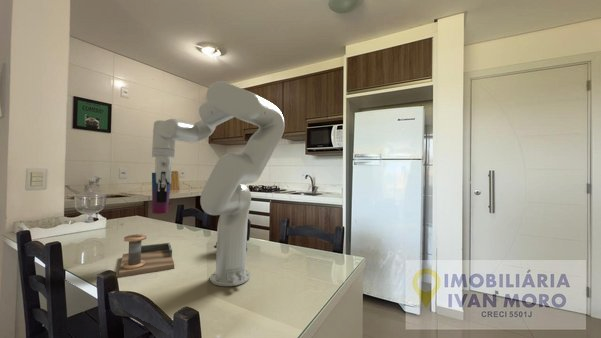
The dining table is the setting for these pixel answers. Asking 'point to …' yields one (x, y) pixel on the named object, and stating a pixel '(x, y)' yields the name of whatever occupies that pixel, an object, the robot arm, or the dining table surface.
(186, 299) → the dining table surface
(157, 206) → the cup
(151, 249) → the board
